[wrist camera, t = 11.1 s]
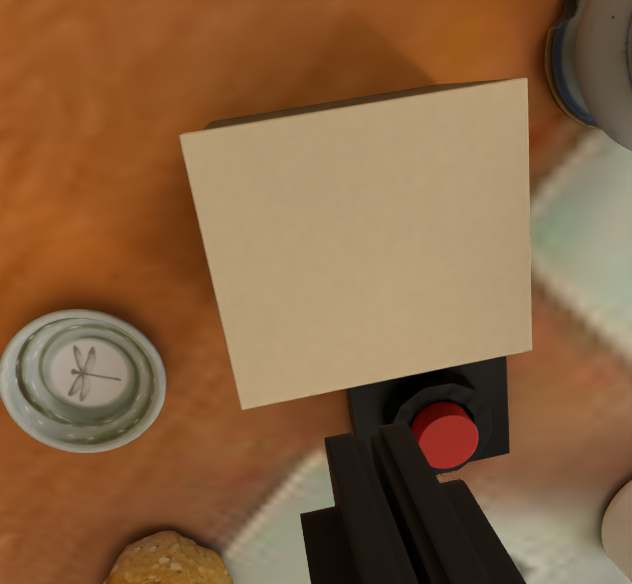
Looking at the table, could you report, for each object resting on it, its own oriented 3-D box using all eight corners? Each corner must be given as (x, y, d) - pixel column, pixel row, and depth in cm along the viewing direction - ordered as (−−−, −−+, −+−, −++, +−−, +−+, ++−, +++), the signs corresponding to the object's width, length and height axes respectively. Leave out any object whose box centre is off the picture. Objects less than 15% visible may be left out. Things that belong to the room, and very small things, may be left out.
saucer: (171, 431, 38) (167, 452, 35) (21, 434, 36) (6, 456, 34) (168, 298, 35) (163, 311, 32) (3, 296, 33) (-14, 310, 31)
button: (413, 458, 37) (421, 474, 36) (407, 407, 36) (415, 422, 34) (469, 446, 38) (480, 462, 36) (466, 395, 36) (477, 409, 35)
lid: (241, 402, 27) (241, 410, 26) (179, 133, 22) (177, 135, 22) (524, 343, 28) (532, 350, 27) (518, 77, 23) (528, 77, 23)
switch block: (358, 470, 41) (368, 502, 38) (341, 363, 38) (351, 388, 35) (499, 440, 42) (522, 469, 38) (495, 332, 39) (519, 354, 35)
